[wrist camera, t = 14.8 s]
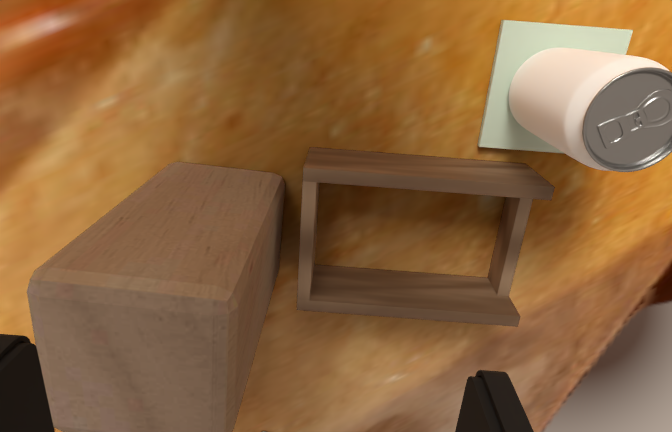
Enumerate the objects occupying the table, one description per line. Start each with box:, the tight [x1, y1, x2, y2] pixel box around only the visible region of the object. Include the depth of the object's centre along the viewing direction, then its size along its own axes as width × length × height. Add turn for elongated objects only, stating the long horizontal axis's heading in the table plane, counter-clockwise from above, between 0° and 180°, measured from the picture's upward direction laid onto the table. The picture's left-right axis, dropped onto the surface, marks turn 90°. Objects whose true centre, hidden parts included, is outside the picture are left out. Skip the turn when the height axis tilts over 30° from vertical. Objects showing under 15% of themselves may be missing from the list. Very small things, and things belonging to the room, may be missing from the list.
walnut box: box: [297, 147, 555, 327], centre depth 39 cm, size 12×18×6 cm, turn 86°
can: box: [509, 48, 672, 172], centre depth 31 cm, size 6×6×12 cm
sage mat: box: [478, 20, 633, 153], centre depth 36 cm, size 10×10×1 cm
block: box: [27, 162, 285, 432], centre depth 32 cm, size 10×10×20 cm
